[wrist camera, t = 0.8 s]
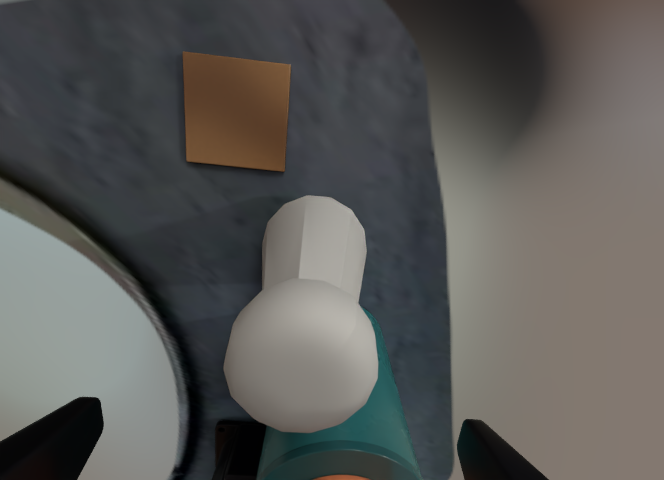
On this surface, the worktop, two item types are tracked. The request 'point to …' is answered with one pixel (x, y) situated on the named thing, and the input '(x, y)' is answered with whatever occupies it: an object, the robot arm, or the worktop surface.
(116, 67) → the worktop surface
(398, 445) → the tin
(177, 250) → the worktop surface
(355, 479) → the brown lid
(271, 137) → the coaster
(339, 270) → the salt shaker
